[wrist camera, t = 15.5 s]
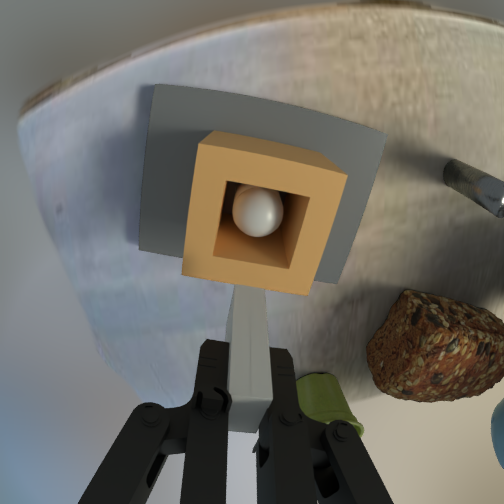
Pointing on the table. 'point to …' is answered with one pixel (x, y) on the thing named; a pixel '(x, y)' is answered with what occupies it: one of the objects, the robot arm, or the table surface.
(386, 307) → the table surface
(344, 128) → the board
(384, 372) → the bread
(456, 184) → the shiny metal cylinder
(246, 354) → the robot arm
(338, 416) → the plant pot
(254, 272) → the collar
